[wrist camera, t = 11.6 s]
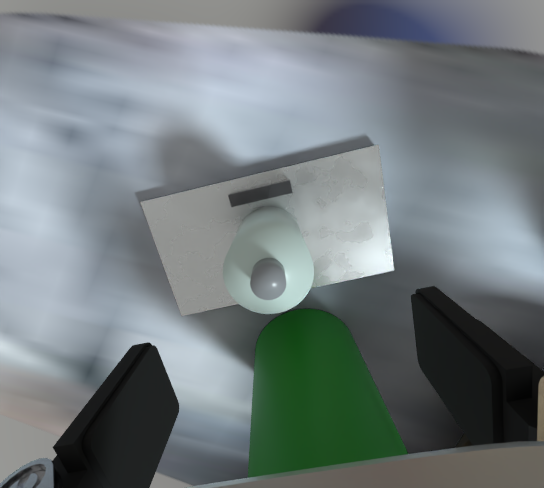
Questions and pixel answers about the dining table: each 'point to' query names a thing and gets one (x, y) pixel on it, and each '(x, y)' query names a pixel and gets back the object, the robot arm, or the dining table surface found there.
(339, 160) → the clip bracket
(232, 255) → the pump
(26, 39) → the dining table surface
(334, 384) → the motor
